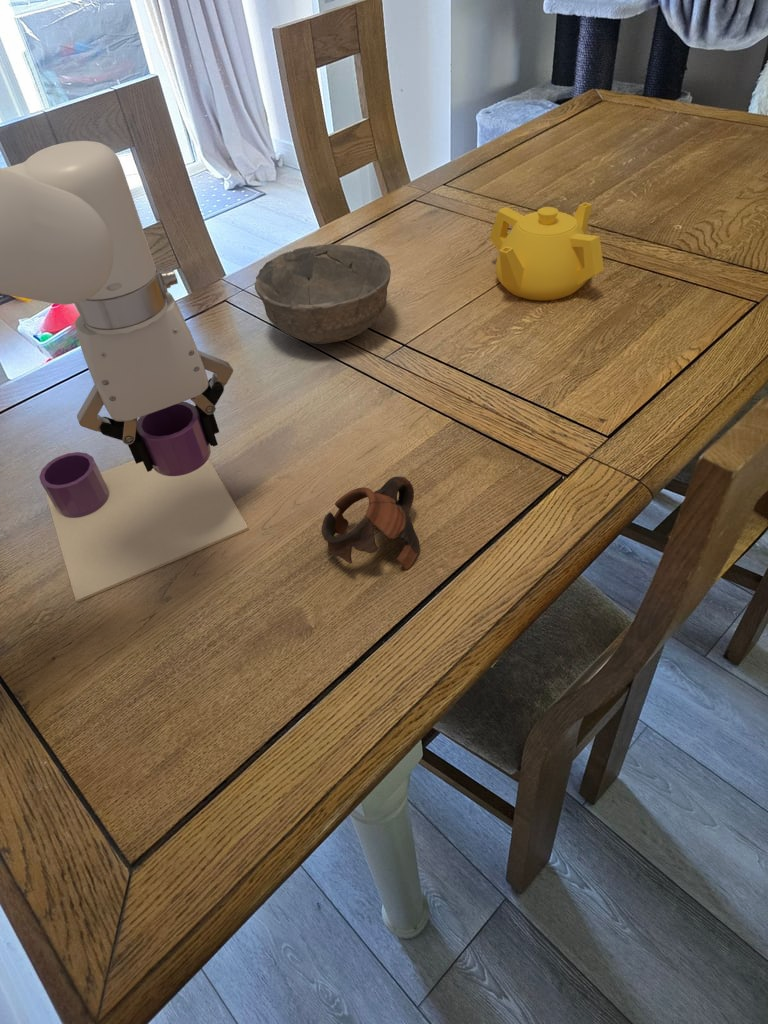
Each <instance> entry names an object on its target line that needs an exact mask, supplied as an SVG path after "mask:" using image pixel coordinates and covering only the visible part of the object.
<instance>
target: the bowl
mask: <svg viewBox="0 0 768 1024" xmlns="http://www.w3.org/2000/svg"><path fill="white" fill-rule="evenodd" d="M391 273H392V270H391V264H390V262H389V261H388V259H386V258H385V257H384V256H383V255H382V254H381V253H380V252H378V251H376V250H373V249H370V248H365V247H363V246H356V245H348V244H347V245H345V244H334V243H329V244H319V245H312V246H311V245H309V246H304V247H300V248H295V249H294V250H292V251H286V252H283V253H282V254H279V255H277V256H275V257H274V258H272V259H271V260H269V261H267V262H266V263H265V264H264V265H263V266H262V268H260V269H259V271H258V274H257V275H256V276H255V279H256V280H255V282H254V289H255V293H256V294H257V296H258V297H259V298H260V300H261V301H262V304H263V306H264V311H265V314H266V315H265V316H266V317H267V319H268V320H269V321H270V322H271V323H272V325H274V326H275V327H276V328H278V329H279V330H280V331H281V332H282V333H285V334H287V335H288V336H290V337H293V338H295V339H297V340H300V341H303V342H306V343H309V344H316V345H324V344H331V343H337V342H342V341H347V340H349V339H352V338H353V337H357V336H359V335H361V334H363V333H364V332H365V331H366V330H368V329H369V328H370V327H371V326H372V325H373V324H374V323H375V322H376V321H377V320H378V319H379V318H380V316H381V315H382V314H383V312H384V310H385V309H386V306H387V300H388V299H387V297H388V287H389V283H390V281H391Z"/></svg>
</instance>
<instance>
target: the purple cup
mask: <svg viewBox="0 0 768 1024" xmlns="http://www.w3.org/2000/svg"><path fill="white" fill-rule="evenodd" d="M101 472H102V471H100V469H99V467H98V464H97V463H96V460H95V459H94V457H93V456H92V455H90V454H89V453H87V452H81V451H76V452H75V451H74V452H69V453H68V452H67V453H64V454H63V455H59V456H57V457H55V458H53V459H52V460H50V461H48V462H47V464H45V465H44V467H43V468H42V469H41V470H40V474H39V477H38V478H39V481H40V484H41V486H42V488H43V489H44V492H45V493H47V494H48V496H49V498H50V499H51V501H52V503H53V504H54V506H55V508H56V509H57V510H58V512H59V513H60V514H61V515H63V516H65V517H69V518H78V517H83V516H86V515H89V514H91V513H93V512H95V511H97V510H98V509H100V508H101V507H102V506H103V505H104V504H105V503H106V501H107V499H108V497H109V489H108V487H107V485H106V483H105V481H104V479H103V477H102V474H101Z"/></svg>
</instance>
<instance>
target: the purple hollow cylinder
mask: <svg viewBox="0 0 768 1024" xmlns="http://www.w3.org/2000/svg"><path fill="white" fill-rule="evenodd" d="M195 406H196V405H195V404H194V405H193V404H192V403H190V402H188V401H183V402H181V403H178V404H175V405H172V406H170V407H167V408H164V409H161V410H159V411H156V412H153V413H150V414H147V415H145V416H142V417H139V418H138V419H137V427H136V430H137V432H138V434H139V436H140V438H141V440H142V442H143V444H144V447H145V449H146V452H147V454H148V456H149V459H150V461H151V463H152V466H153V469H154V470H155V471H156V472H158V473H159V474H162V475H165V476H181V475H185V474H188V473H191V472H193V471H195V470H197V469H198V468H200V467H201V466H203V465H204V464H205V463H206V461H207V460H208V459H209V460H210V456H211V452H212V449H211V445H210V444H209V441H208V438H207V435H206V432H205V429H204V426H203V424H202V421H201V418H200V414H199V412H198V410H197V408H196V407H195Z"/></svg>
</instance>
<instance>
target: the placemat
mask: <svg viewBox="0 0 768 1024" xmlns="http://www.w3.org/2000/svg"><path fill="white" fill-rule="evenodd" d="M100 472H101V474H102V477H103V479H104V481H105V483H106V485H107V487H108V489H109V497H108V499H107V501H106V503H105V504H104V505H103V506H102V507H101V508H100V509H98V510H97V511H95V512H93V513H91V514H89V515H86V516H83V517H78V518H69V517H65V516H63V515H61V514H60V513H59V512H58V510H57V509H56V508H55V506H54V504H53V503H52V501H51V499H50V498H49V496H48V494H47V492H45V496H46V500H47V504H48V508H49V511H50V515H51V518H52V521H53V525H54V530H55V533H56V536H57V540H58V543H59V547H60V550H61V554H62V558H63V561H64V564H65V568H66V572H67V575H68V579H69V582H70V586H71V589H72V593H73V596H74V600H75V603H76V604H77V603H80V602H82V601H84V600H86V599H87V600H88V599H89V598H91V597H94V596H96V595H99V594H101V593H103V592H106V591H108V590H111V589H113V588H114V587H117V586H119V585H122V584H124V583H126V582H129V581H132V580H133V579H136V578H138V577H141V576H143V575H146V574H148V573H150V572H153V571H155V570H157V569H159V568H161V567H162V568H163V567H164V566H167V565H169V564H172V563H173V562H176V561H178V560H181V559H183V558H185V557H188V556H190V555H192V554H195V553H197V552H200V551H202V550H204V549H206V548H209V547H211V546H214V545H215V544H219V543H221V542H223V541H226V540H228V539H230V538H232V537H235V536H237V535H239V534H241V533H244V532H246V531H248V530H249V526H248V525H247V523H246V521H245V519H244V518H243V516H242V514H241V512H240V510H239V509H238V507H237V505H236V504H235V502H234V500H233V499H232V497H231V494H230V492H229V491H228V489H227V488H226V486H225V484H224V483H223V481H222V478H221V477H220V476H219V473H218V472H217V471H216V469H215V466H213V463H212V462H211V460H210V458H209V459H208V460H207V461H206V463H205V464H204V465H203V466H201V467H200V468H198V469H197V470H195V471H193V472H191V473H188V474H185V475H181V476H165V475H162V474H159V473H158V472H156V471H155V470H154V469H152V471H149V472H147V470H146V467H145V465H144V463H143V462H140V463H137V464H136V462H135V460H134V459H133V460H130V461H128V462H125V463H122V464H120V465H117V466H115V467H112V468H109V469H106V470H103V471H100Z"/></svg>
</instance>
